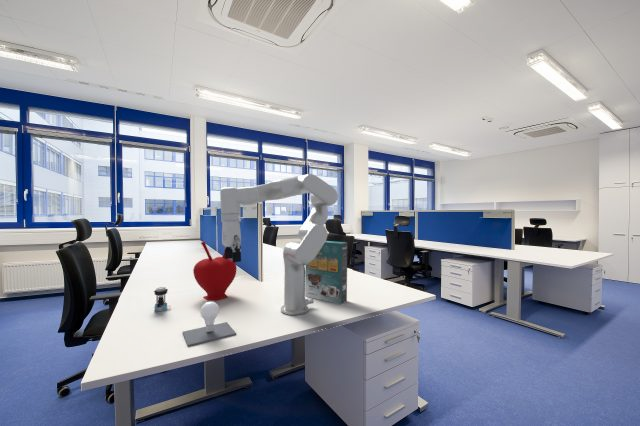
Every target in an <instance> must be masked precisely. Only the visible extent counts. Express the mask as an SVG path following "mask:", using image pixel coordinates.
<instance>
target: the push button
mask: <svg viewBox="0 0 640 426" xmlns="http://www.w3.org/2000/svg"><path fill="white" fill-rule="evenodd" d="M168 291H169V289H168V288H166V287H164V286H162V287H161V286H160V287H157V288H155V290H153V293H154V296H156V297H155V298H156V300H155V301H156V302H155V304H154V309H153V311H154V312H163V311H167V310H168V309H171V305H168V303H167V302H166V294H168Z"/></svg>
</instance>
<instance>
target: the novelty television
mask: <svg viewBox="0 0 640 426" xmlns="http://www.w3.org/2000/svg"><path fill="white" fill-rule="evenodd" d="M200 243H201V246H202V248H203V249H204V251H205V253H206V255H207V257H208V258H203V259H201V260H199V261H198V262H197V263H195V265H194V267H193V269H192V272H193V276H194V278H195V279H194V280H195V281H196V283H197V284H198V285H199V287H200V288H201V289H202V290H203V291H204V292H205V293H206V295H204V296H203V299H205V300H207V301H212V302H215V301H219V300H224V299H227V298H228V295H227V293H226V292H227V290H228V288H229V287H230V286H231V284H232V283H233V282H234V280H235V278H236V275H237V274H236V273H237V264H236V262H235V263H234V262H233V259H232V258H230V259H225V251H224V252H223V255H222V256H217V257H214V258H213V257H212V255H211V253H210V251H209V249H208V247H207V245H206V241H201V242H200Z"/></svg>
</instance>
